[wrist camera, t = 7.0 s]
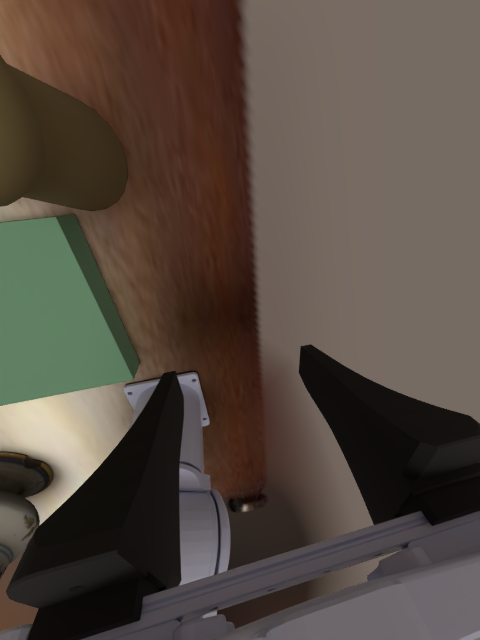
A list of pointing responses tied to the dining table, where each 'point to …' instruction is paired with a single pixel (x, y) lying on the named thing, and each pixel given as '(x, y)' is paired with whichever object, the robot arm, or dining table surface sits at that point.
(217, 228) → the dining table surface
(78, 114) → the cork
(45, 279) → the green
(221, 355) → the dining table surface
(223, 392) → the dining table surface
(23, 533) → the apothecary jar
